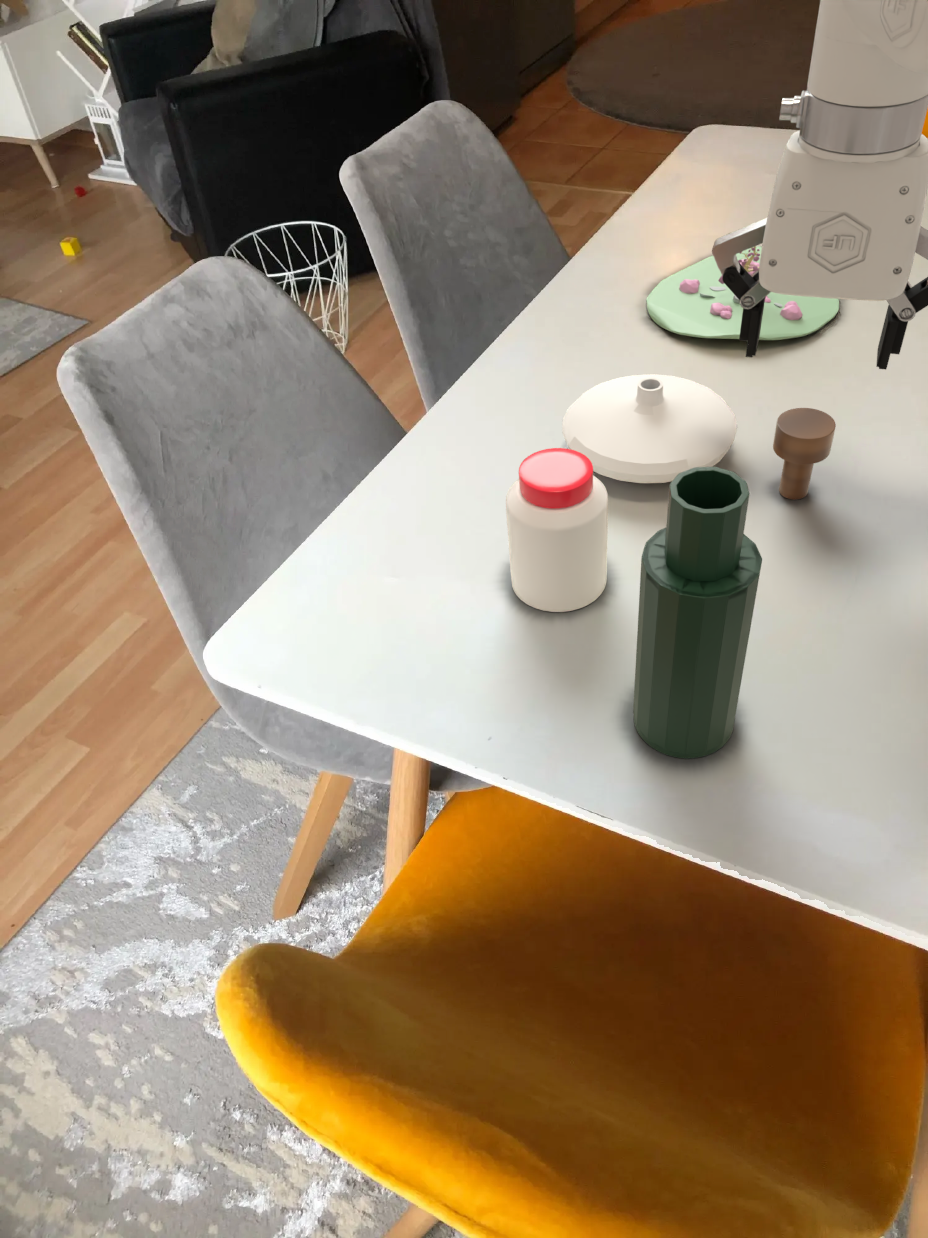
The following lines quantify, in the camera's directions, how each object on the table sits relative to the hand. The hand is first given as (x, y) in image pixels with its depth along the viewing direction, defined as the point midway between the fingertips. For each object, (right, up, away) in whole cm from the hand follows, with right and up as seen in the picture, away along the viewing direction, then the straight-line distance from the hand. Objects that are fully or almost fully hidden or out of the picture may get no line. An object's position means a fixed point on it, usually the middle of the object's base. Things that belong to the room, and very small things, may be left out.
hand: (815, 354), depth 75 cm
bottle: (-12, -28, -8) cm, 31 cm away
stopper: (+1, -10, +9) cm, 13 cm away
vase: (-10, -5, +15) cm, 19 cm away
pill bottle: (-20, -18, +4) cm, 27 cm away
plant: (+5, +16, +35) cm, 38 cm away
